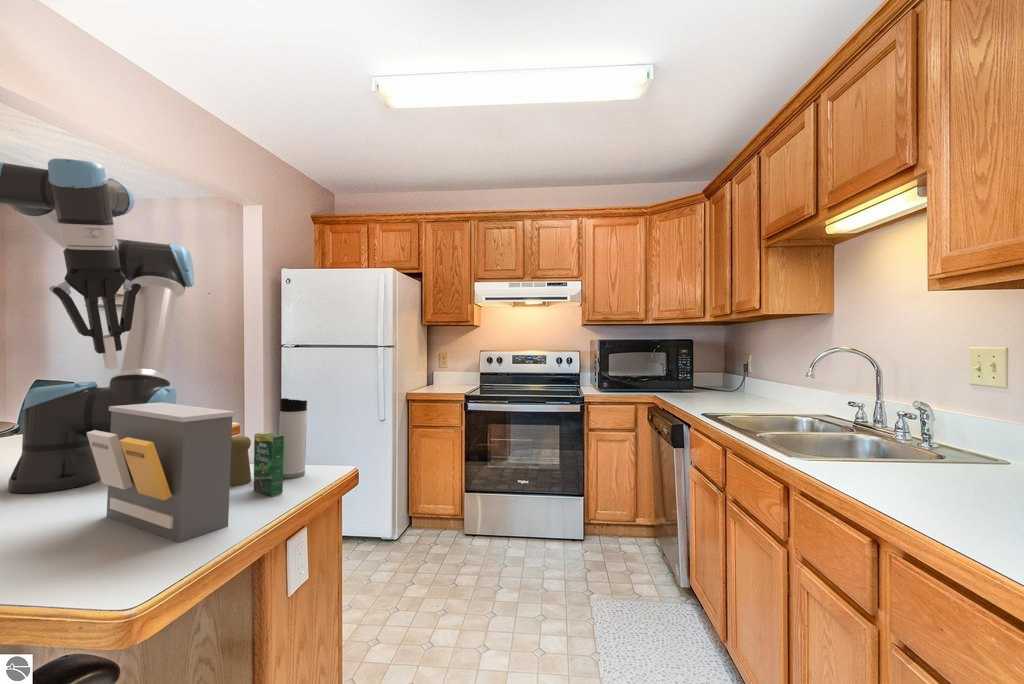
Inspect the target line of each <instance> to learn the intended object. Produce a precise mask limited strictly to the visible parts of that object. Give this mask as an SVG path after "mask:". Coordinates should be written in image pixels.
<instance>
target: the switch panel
mask: <svg viewBox="0 0 1024 684" xmlns="http://www.w3.org/2000/svg"><path fill="white" fill-rule="evenodd" d="M109 411H111V431H110V433H113V434H117V436H118V439H119V440H122V439H124V438H127V437H129V438H134V439H139V440H145V441H150V442H153V443H154V445H155V448H156V451H157V454H158V457H159V460H160V463H161V466H162V469H163V472H164V475H165V478H166V481H167V483H168V486H169V489H170V492H171V495H172V497H170V498H168V499H166V500H160V499H157V498H154V497H150V496H147V495H144V494H140V493H138V491H137V488H136V485H135V483H134V480H133V477H132V474H131V472H130V469H129V466H128V463H127V461H126V458H125V455H124V452H123V450H122V452H123V456H124V459H125V462H126V466H127V469H128V472H129V476H130V479H131V482H132V487H130V488H128V489H125V490H124V489H120V488H117V487H114V486H110V485H107V503H106V517H107V518H110V519H112V520H114V521H118V522H121V523H123V524H126V525H128V526H131V525H132V526H131V527H134V526H135V527H134V528H137V527H138V528H137V529H140V528H141V529H140V530H142V529H143V531H145V530H146V531H145V532H148V531H149V532H148V533H151V534H153V533H154V534H153V535H156V536H159V537H162V538H165V539H168V540H169V541H172V542H176V543H183V542H185V541H188V540H191V539H194V538H197V537H200V536H202V535H206V534H209V533H212V532H214V531H218V530H220V529H223V528H226V527H229V517H230V516H229V515H230V514H229V513H230V509H229V508H230V493H231V492H230V490H231V489H230V488H231V486H230V466H231V441H232V437H233V417H236V411H232V410H226V409H216V408H210V407H209V408H207V407H200V406H194V405H192V406H191V405H184V404H178V403H176V404H170V403H162V402H159V403H147V404H134V405H122V406H109ZM119 442H120V441H119ZM120 446H121V444H120ZM121 449H122V447H121Z"/></svg>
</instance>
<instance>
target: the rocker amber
mask: <svg viewBox="0 0 1024 684" xmlns="http://www.w3.org/2000/svg"><path fill="white" fill-rule="evenodd" d="M119 441H120V444H121V447H122V450H123V452H124V455H125V458H126V461H127V463H128V466H129V469H130V472H131V474H132V477H133V480H134V483H135V485H136V488H137V491H138V493H140V494H144V495H147V496H150V497H154V498H157V499H160V500H166V499H168V498H170V497H172V495H171V492H170V489H169V486H168V483H167V481H166V478H165V475H164V472H163V469H162V466H161V463H160V460H159V457H158V454H157V451H156V448H155V445H154V443H153V442H150V441H145V440H139V439H134V438H129V437H127V438H124V439H122V440H119Z"/></svg>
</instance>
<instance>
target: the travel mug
mask: <svg viewBox="0 0 1024 684" xmlns="http://www.w3.org/2000/svg"><path fill="white" fill-rule="evenodd" d="M307 406H308V400H306V399H305V400H300V399H289V398H284V397H281V398H280V405H279V408H280V409H279V424H278V425H279V426H278V434H279V435H284V453H283V480H284V479H286V480H287V479H288V480H290V479H297V478H301V477H303V476H305V473H306V471H305V470H306V446H307V420H308V413H307V412H308V408H307Z"/></svg>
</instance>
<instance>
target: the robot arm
mask: <svg viewBox="0 0 1024 684" xmlns="http://www.w3.org/2000/svg"><path fill="white" fill-rule="evenodd" d="M0 205H8V206H9V207H10V208H12V209H13V210H14V211H16V213H18V214H19V215H20V216H22V218H24V219H25V220H28V221H27V222H30V223H31V224H32V225H33V226H34V227H36V228H37V229H39V230H40V231H41V232H42V233H43V234H45V235H46V236H48V237H49V238H50V239H51V240H53V241H54V242H55V243H56V244H57V245H59V246H60V247H61V248H63V249H64V250H63V251H62V253H63V256H64V263H65V267H66V274H65V276H64V281H63V282H61V283H59V284H57V285H52V286H50V287H49V291H50V292H51V293H52V294H54V295H55V296H56V297H58V298H59V300H60V302H61V304H62V305H63V307H64V309H65V311H66V313H67V315H68V316H69V318H70V320H71V322H72V324H73V325H74V327H75V329H76V331H77V332H78V334H79V335H82V336H84V337H91V338H92V342H93V348H94V351H95V353H96V354H98V355H100V354H102V359H103V364H104V368H105V369H108V371H111V370H116V369H119V368H120V372H119V373H117V374H115V375H113V376H111V378H110V381H109V385H108V386H106V387H105V386H103V387H98V383H97V381H84V382H83V381H82V382H74V383H73V382H72V383H65V384H64V383H63V384H56V385H48V386H38V387H34V388H31V389H29V390H28V391H27V392H26V394H25V396H24V397H25V398H24V399H25V400H24V405H23V407H22V410H23V415H22V416H23V417H22V418H23V419H22V421H23V422H22V441H21V442H22V443H21V454H20V457H19V458H18V460H17V463H16V465H15V467H14V468H13V471H12V473H11V475H10V477H9V478H8V482H7V483H8V484H7V485H8V487H7V488H8V489H7V491H8V492H9V493H14V494H15V493H16V494H34V493H35V494H36V493H45V492H54V491H61V490H68V489H73V488H77V487H82V486H86V485H89V484H93V483H96V482H97V481H101V478H100V475H99V471H98V468H97V465H96V462H95V459H94V456H93V452H92V449H91V446H90V443H89V440H88V437H87V432H90V431H93V430H97V431H102V432H108V433H110V431H111V411H109V406H122V405H134V404H147V403H159V402H162V403H170V404H177V401H176V400H177V391H176V388H174V387H173V386H171V381H170V380H169V379H168V378H167V377H166V376H165V371H166V364H167V358H168V353H169V348H170V347H169V346H170V342H171V335H172V329H173V328H172V327H173V324H174V323H173V322H174V317H175V311H176V304H177V299H178V298H180V297H182V296H184V294H185V292H186V288H192V287H194V285H195V270H194V262H193V260H192V259H193V258H192V255H191V252H190V251H189V249H188V248H187V247H186V246H183V245H178V244H177V245H175V244H172V243H168V244H166V243H158V242H151V241H150V242H149V241H141V240H130V239H129V240H128V239H122V238H121V239H120V238H117V237H116V234H115V233H116V231H115V227H114V226H115V224H114V219H113V218H117V217H120V216H124V215H126V214H128V213H130V212H131V211H132V210H133V208H134V206H135V197H134V194H133V192H132V191H131V189H130V188H128V186H127V185H125V184H124V183H122V182H121V181H119V180H115V179H114V178H112V177H111V178H108V177H107V174H106V171H105V168H104V166H103V165H102V164H100V163H98V162H93V161H88V160H82V159H81V160H80V159H71V158H57V157H56V158H51V159H50V160H48V162H47V169H45V168H39V167H34V166H26V165H19V164H13V163H7V162H5V161H0ZM122 286H123V290H124V293H123V300H122V306H121V314H120V318H119V317H118V310H117V305H116V295H117V293H118V292H119V290H120V289H121V287H122ZM71 288H72V289H74V290H75V291H76V292H77V293H78V294H80V295H81V296H83V300H84V302H85V307H86V312H87V318H88V324H89V327H88V325H87V324H86V322H85V320H84V318H83V317H82V315H81V313H80V311H79V309H78V307H77V305H76V303H75V302H74V300H73V298H72V297H71V296H70V295H71V294H72V291H71ZM98 298H101V300H102V304H103V309H104V314H105V320H106V325H107V331H108V333H109V334H104V330H103V327H102V322H101V321H102V320H101V316H100V315H101V314H100V310H99V308H100V307H99V300H98ZM119 319H120V320H119ZM126 332H128V333H127V339H126V344H125V348H124V349H125V350H124V354H123V359H122V364H121V367H119V360H118V356H117V352H120V351H122V349H123V345H122V339H121V335H122V334H124V333H126Z"/></svg>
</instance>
